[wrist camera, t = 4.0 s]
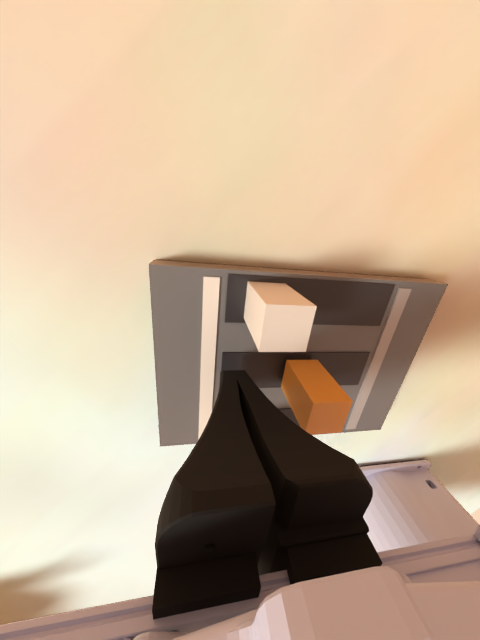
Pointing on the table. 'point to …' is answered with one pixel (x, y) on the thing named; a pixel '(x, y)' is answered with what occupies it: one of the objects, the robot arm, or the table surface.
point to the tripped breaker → (315, 397)
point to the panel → (185, 343)
